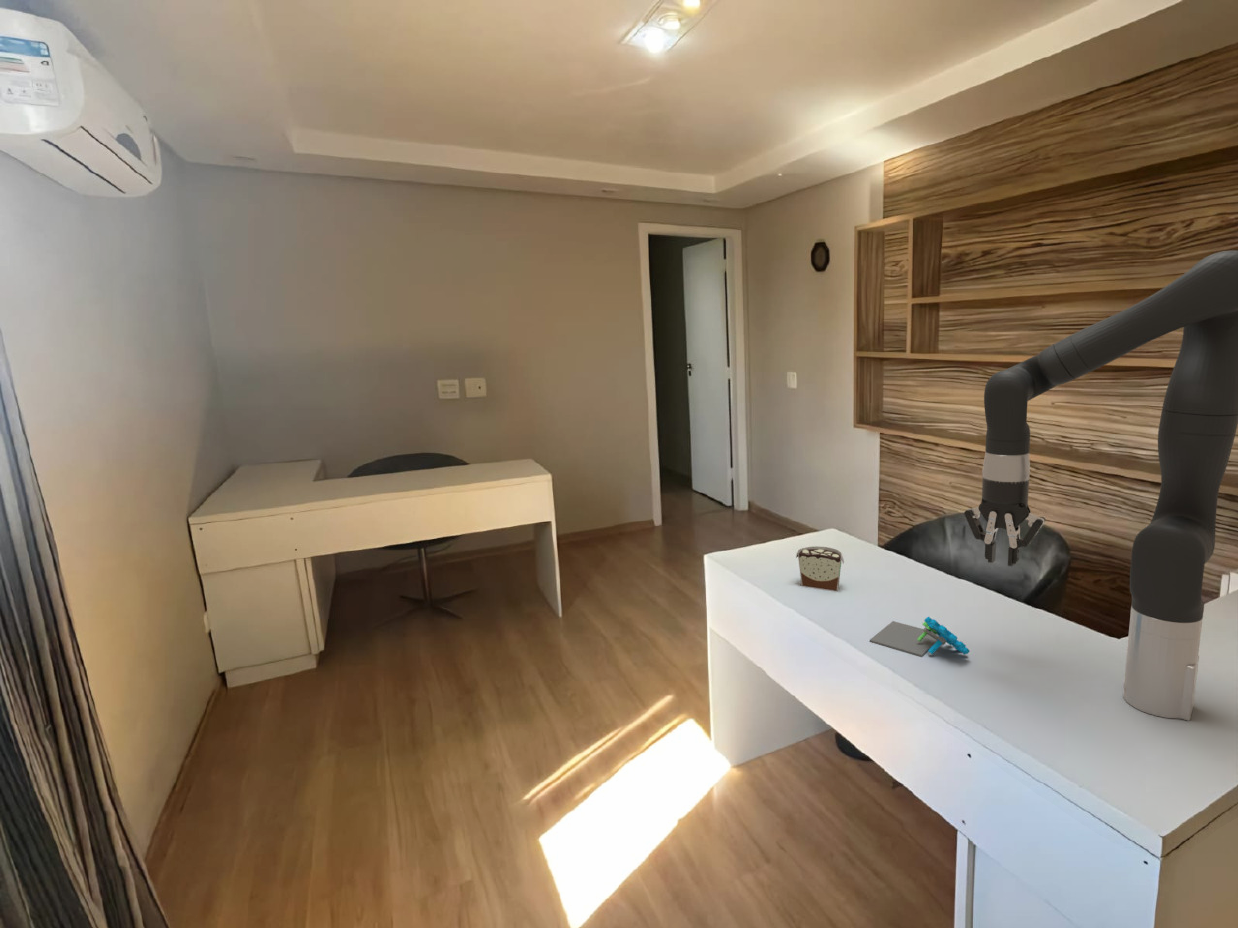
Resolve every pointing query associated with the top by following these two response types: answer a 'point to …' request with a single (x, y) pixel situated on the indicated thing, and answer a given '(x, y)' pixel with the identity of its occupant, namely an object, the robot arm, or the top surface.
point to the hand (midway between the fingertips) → (1001, 562)
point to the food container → (820, 567)
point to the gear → (941, 636)
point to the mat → (904, 638)
